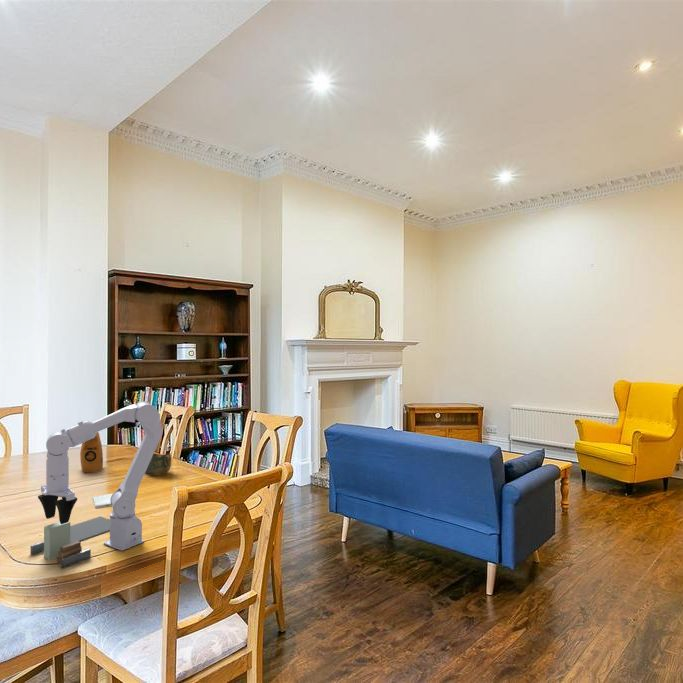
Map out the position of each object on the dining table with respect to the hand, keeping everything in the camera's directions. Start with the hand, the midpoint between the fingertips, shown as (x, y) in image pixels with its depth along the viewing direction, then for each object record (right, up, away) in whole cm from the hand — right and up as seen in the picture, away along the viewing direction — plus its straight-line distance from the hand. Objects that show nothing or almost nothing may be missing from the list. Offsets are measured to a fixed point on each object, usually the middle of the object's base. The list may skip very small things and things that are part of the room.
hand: (57, 520), depth 145 cm
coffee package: (-37, -10, +93) cm, 101 cm away
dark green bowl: (-4, -10, +88) cm, 88 cm away
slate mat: (-1, -10, +19) cm, 21 cm away
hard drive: (-8, -11, +47) cm, 49 cm away
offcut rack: (+1, -10, -1) cm, 10 cm away
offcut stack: (+6, -10, -4) cm, 12 cm away
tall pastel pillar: (0, -10, 0) cm, 10 cm away
